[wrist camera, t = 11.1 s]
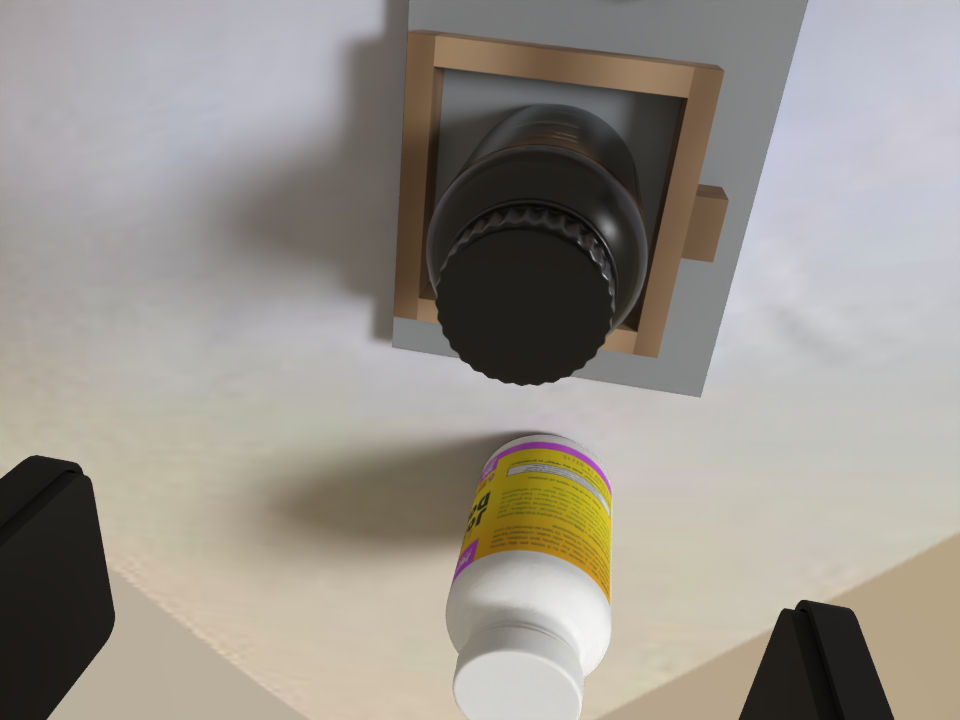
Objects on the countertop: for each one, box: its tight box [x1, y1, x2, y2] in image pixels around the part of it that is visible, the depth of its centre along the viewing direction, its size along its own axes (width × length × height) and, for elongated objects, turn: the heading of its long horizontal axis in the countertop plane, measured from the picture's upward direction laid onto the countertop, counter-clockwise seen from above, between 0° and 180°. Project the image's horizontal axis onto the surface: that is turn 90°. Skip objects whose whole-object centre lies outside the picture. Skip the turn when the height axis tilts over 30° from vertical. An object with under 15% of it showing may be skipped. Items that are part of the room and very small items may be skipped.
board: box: [392, 0, 808, 397], centre depth 30 cm, size 14×18×3 cm
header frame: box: [394, 29, 729, 358], centre depth 29 cm, size 12×11×2 cm
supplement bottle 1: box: [426, 104, 648, 386], centre depth 25 cm, size 7×7×12 cm
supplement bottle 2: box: [446, 435, 613, 720], centre depth 32 cm, size 7×7×13 cm
